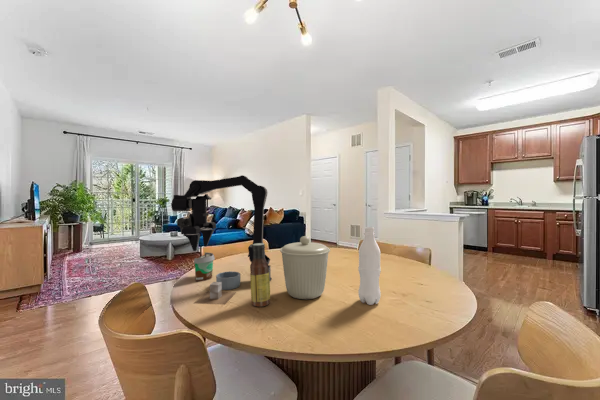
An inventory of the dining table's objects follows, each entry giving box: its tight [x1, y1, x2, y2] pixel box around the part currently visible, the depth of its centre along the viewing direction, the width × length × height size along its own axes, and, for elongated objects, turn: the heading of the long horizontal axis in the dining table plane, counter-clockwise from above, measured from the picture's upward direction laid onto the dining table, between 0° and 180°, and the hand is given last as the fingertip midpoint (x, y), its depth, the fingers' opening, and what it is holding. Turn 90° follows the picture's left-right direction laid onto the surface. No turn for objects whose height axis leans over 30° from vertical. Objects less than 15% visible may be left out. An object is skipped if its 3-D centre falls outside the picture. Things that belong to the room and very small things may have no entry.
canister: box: [279, 235, 331, 300], centre depth 98 cm, size 18×18×21 cm
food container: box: [193, 252, 215, 283], centre depth 118 cm, size 12×6×10 cm, turn 179°
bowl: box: [215, 270, 241, 291], centre depth 107 cm, size 9×9×4 cm
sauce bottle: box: [249, 242, 271, 308], centre depth 89 cm, size 6×6×20 cm
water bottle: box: [357, 226, 382, 306], centre depth 91 cm, size 7×7×25 cm
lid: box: [193, 281, 237, 305], centre depth 95 cm, size 11×11×6 cm
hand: (200, 248), depth 112 cm, fingers open, 9 cm apart
